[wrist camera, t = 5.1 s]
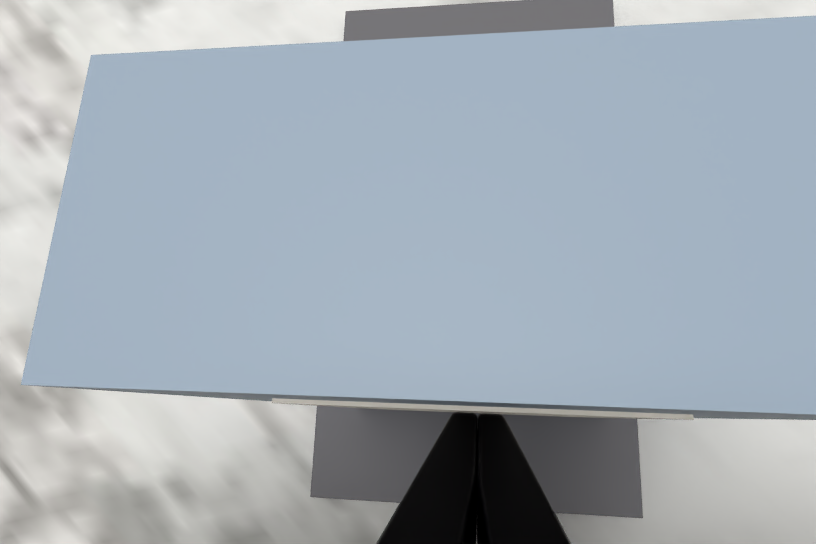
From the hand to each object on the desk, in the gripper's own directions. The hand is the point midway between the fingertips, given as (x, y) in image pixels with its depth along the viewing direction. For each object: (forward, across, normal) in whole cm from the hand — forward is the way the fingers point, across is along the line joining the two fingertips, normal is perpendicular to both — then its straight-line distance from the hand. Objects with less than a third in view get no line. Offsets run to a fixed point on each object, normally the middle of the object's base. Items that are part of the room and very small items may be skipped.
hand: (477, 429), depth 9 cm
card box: (+6, 0, +3) cm, 7 cm away
